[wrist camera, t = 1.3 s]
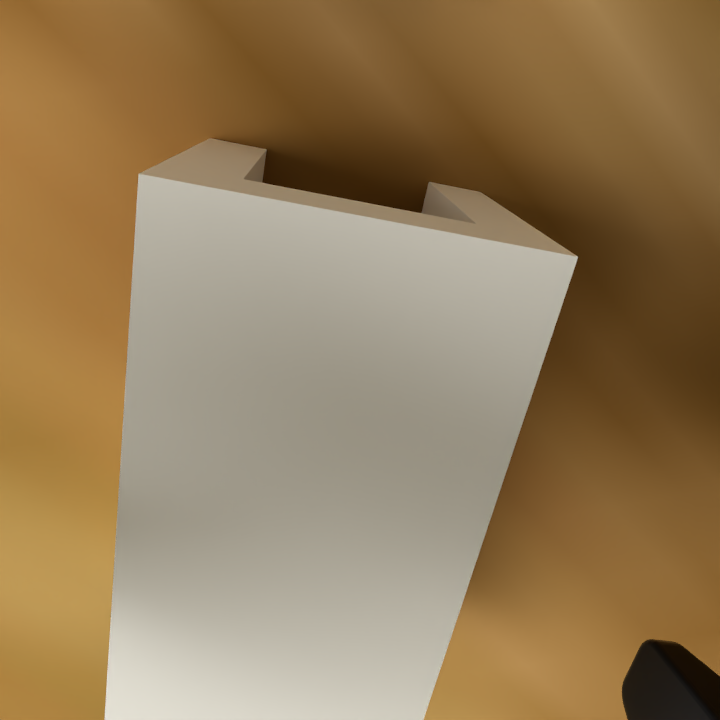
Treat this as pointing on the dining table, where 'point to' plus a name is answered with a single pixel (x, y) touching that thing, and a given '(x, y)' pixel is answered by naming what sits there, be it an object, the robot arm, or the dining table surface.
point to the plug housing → (312, 438)
